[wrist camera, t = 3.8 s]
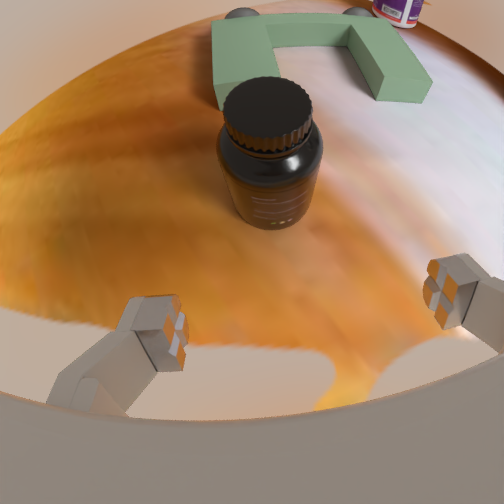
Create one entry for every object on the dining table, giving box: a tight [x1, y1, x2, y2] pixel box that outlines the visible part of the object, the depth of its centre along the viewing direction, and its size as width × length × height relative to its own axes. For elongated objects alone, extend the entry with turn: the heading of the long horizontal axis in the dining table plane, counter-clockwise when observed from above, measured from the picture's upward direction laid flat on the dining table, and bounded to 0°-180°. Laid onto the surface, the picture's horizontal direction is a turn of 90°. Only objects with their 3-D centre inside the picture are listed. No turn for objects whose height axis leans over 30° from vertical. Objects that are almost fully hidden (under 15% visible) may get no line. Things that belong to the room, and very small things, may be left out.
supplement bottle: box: [216, 76, 323, 230], centre depth 20 cm, size 7×7×12 cm
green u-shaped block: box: [211, 7, 433, 111], centre depth 28 cm, size 24×15×5 cm, turn 96°
